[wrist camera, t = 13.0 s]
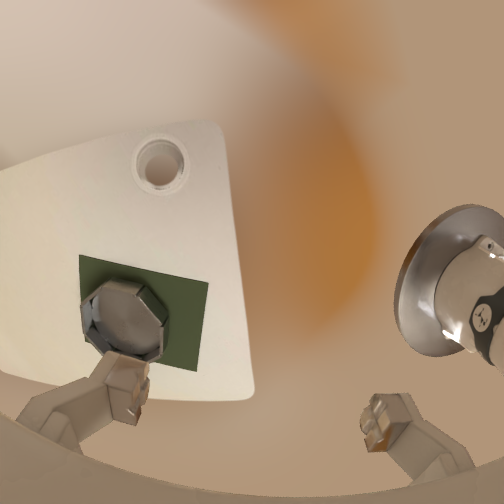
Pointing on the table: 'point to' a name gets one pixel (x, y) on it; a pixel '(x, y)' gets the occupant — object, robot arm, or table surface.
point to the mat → (171, 298)
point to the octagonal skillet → (125, 320)
